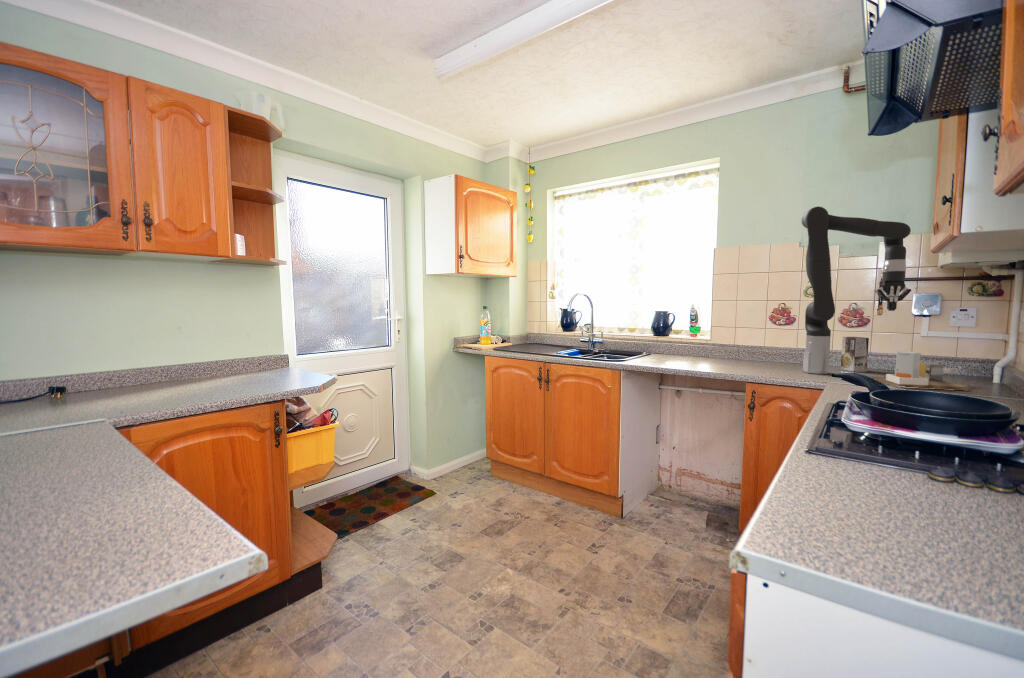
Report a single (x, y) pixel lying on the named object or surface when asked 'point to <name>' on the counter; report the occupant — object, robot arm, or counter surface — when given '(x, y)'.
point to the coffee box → (854, 354)
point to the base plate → (930, 385)
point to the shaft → (926, 369)
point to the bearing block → (934, 372)
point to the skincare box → (907, 364)
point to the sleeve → (907, 380)
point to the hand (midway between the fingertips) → (891, 310)
